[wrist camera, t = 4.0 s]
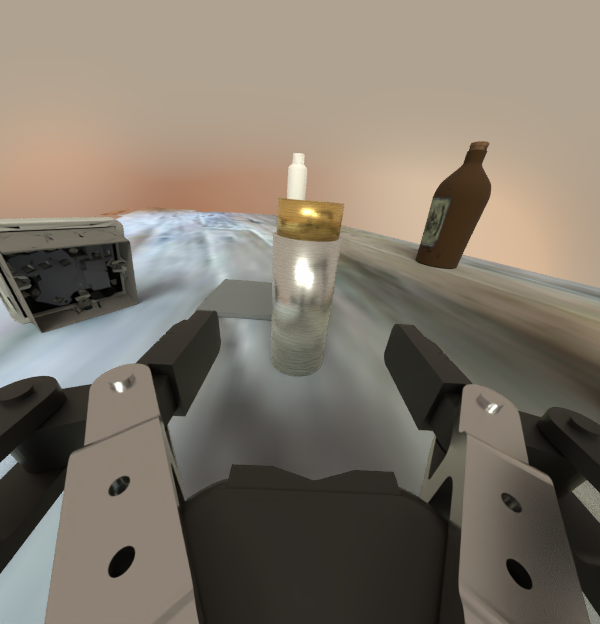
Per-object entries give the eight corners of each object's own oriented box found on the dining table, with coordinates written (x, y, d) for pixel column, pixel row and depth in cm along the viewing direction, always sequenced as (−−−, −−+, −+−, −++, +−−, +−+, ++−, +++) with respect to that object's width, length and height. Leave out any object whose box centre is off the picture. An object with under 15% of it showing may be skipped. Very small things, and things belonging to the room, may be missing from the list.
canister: (320, 344, 21) (341, 203, 15) (324, 377, 17) (355, 205, 11) (273, 340, 20) (278, 197, 15) (267, 374, 17) (269, 197, 11)
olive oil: (443, 260, 61) (486, 150, 49) (469, 271, 51) (529, 139, 40) (406, 256, 61) (440, 146, 49) (424, 267, 51) (472, 133, 40)
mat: (292, 288, 33) (292, 284, 32) (288, 321, 24) (288, 316, 24) (225, 283, 32) (225, 279, 32) (196, 314, 24) (196, 309, 23)
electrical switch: (130, 293, 27) (108, 213, 22) (154, 309, 25) (136, 224, 20) (14, 323, 20) (-54, 214, 15) (35, 349, 18) (-36, 232, 13)
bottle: (292, 225, 107) (296, 156, 94) (306, 227, 103) (312, 156, 90) (282, 226, 101) (284, 152, 88) (296, 228, 97) (301, 152, 84)
